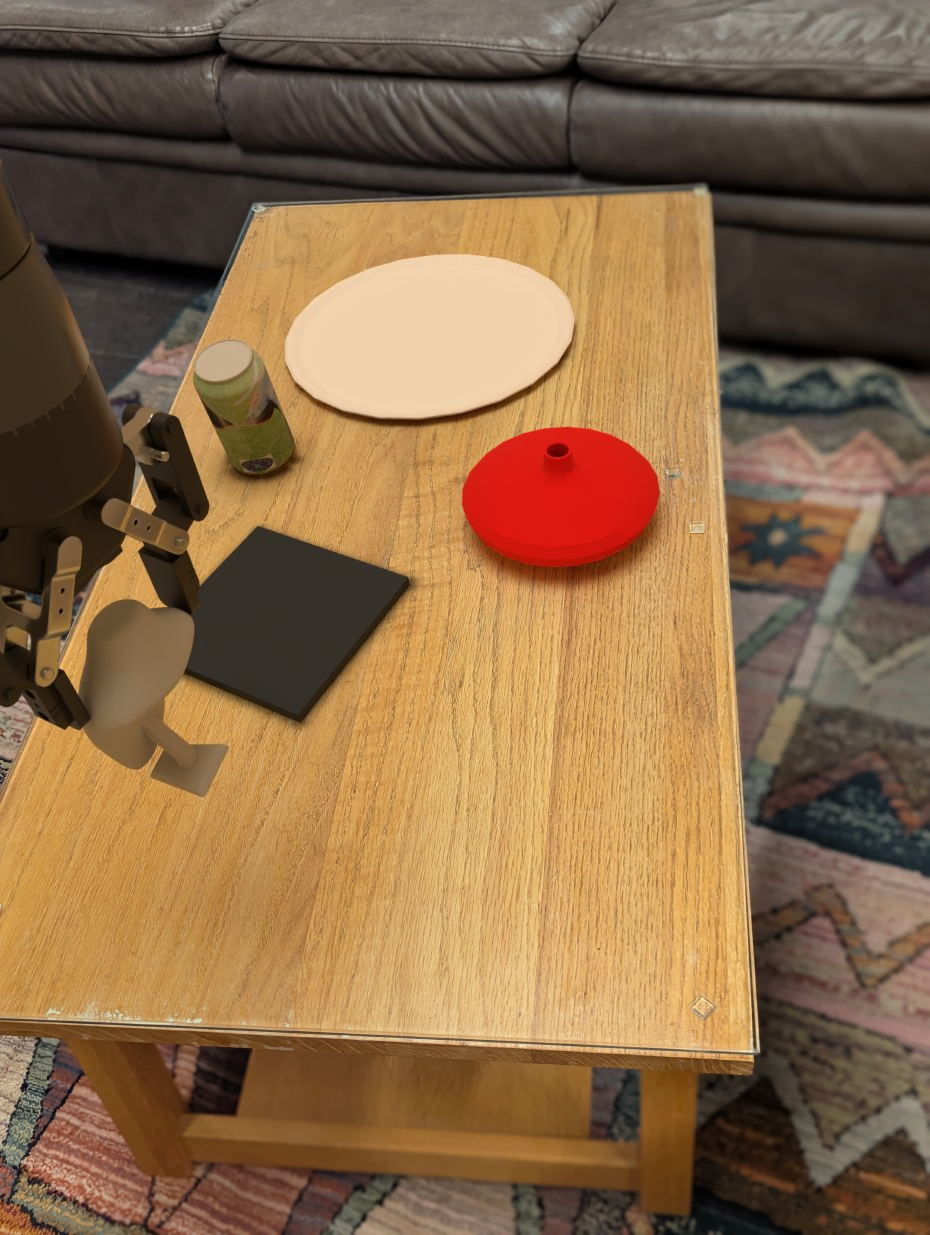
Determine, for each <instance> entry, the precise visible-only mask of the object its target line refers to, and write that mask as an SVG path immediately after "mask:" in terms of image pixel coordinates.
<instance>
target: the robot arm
mask: <svg viewBox="0 0 930 1235" xmlns="http://www.w3.org/2000/svg"><path fill="white" fill-rule="evenodd" d="M85 342H86V341H85V339H84V337H83V335H82V332H81V329H80V327H79V325H78V323H77V319H76V317H75V315H74V312H73V310H72V308H71V305H70V302H69V300H68V297H67V295H66V293H65V291H64V289H63V287H62V285H61V283H60V281H59V280H58V278H57V276H56V274H55V272H54V271H53V269H52V267H51V265H50V263H48V260H47V258H46V257H45V255H44V254H43V252H42V251H41V249H40V247H39V245H38V242H37V240H36V238H35V236H34V234H33V232H32V230H31V228H30V225H29V222H28V220H27V218H26V215H25V213H24V211H23V208H22V206H21V203H20V201H19V199H18V196H17V194H16V191H15V189H14V187H13V184H12V182H11V180H10V177H9V175H8V172H7V170H6V168H5V165H4V163H3V160H2V158H0V707H2V708H10V707H13V706H15V705H16V703H17V702H19V700H20V698H21V697H23V698H24V700H25V702H26V703H27V704H28V706H29V708H30V709H31V711H32V712H33V714H34V716H35V717H37V718H38V719H41V720H42V721H45V722H48V723H49V724H52V725H53V726H55V727H57V728H59V729H61V730H63V731H66V730H67V729H68V728H69V727H70V728H72V729H74V730H77V731H81V730H83V727H84V726H85V725H86V724H87V723H88V722H89V721H90V720H91V716H90V715H89V713H88V711H87V709H86V708H85V706H84V704H83V702H82V701H81V699H80V697H79V695H78V692H77V690H76V689H75V687H74V685H73V683H72V681H71V680H70V678H69V676H68V675H67V672H66V671H65V670H64V669H62V668H60V667H59V666H60V657H61V656H60V655H61V644H62V636H63V635H65V634H68V633H69V632H70V630H71V628H72V620H73V619H72V617H73V605H74V597H76V596H77V595H78V594H79V593H81V591H83V590H84V589H85V588H86V587H87V586H88V584H89V583H90V582H91V580H92V579H93V578H94V576H95V575H96V573H97V572H98V571H99V570H100V569H102V568H104V567H105V566H107V565H109V564H110V563H113V561H115V559H117V558H118V557H119V556H120V555H121V554H122V553H123V552H124V549H123V547H122V545H123V543H124V542H125V539H126V537H129V538H130V539H131V538H132V539H133V540H136V541H139V542H141V543H142V544H143V546H142V547H140V548H139V549H138V550H137V553H138V555H139V557H140V560H141V562H142V564H143V567H144V568H145V572H146V573H147V575H148V578H149V580H150V582H151V584H152V587H153V589H154V591H155V593H156V596H157V598H158V600H159V601H160V602H161V603H162V604H163V605H164V606H165V607H173V608H178V609H181V610H183V611H185V612H187V613H188V614H189V615H191V614H192V613H193V612H194V611H195V610H196V609H197V608H198V607H199V606H200V605H201V602H200V600H199V597H198V595H197V594H198V592H199V591H200V585H201V584H200V583H201V582H200V578H199V576H198V574H197V571H196V569H195V566H194V564H193V561H192V559H191V556H190V553H189V551H188V547H189V544H190V535H189V531H190V528H191V526H192V525H193V524H194V521H195V522H197V523H198V522H199V523H200V522H202V521H204V520H205V519H206V518H207V517H208V514H209V512H210V501H209V499H208V496H207V493H206V489H205V487H204V485H203V482H202V479H201V476H200V473H199V471H198V466H197V465H196V462H195V459H194V455H193V454H192V451H191V448H190V445H189V442H188V439H187V437H186V434H185V430H184V428H183V425H182V423H181V420H180V418H179V417H178V416H176V415H173V414H170V413H166V412H164V411H162V410H158V409H155V408H152V407H149V406H144V405H140V404H137V403H129V404H127V405H126V406H125V408H124V409H123V411H122V414H121V423H122V427H120V424H119V422H118V420H117V417H116V414H115V411H114V410H113V407H112V405H111V402H110V400H109V397H108V395H107V392H106V390H105V388H104V385H103V383H102V380H101V378H100V376H99V373H98V370H97V369H96V368H97V367H96V366H95V363H94V361H93V358H92V356H91V354H90V351H89V349H88V347H87V344H86V343H85ZM137 463H138V465H139V468H140V471H141V473H142V475H143V478H144V480H145V483H146V485H147V487H148V490H149V493H150V495H151V497H152V501H153V502H154V505H155V507H154V508H153V510H152V512H151V513H149V512H147V511H145V510H142V509H140V508H138V507H136V506H134V505H132V497H133V490H134V484H135V476H136V468H137V465H136V464H137ZM26 593H28V594H31V595H36V596H40V597H41V604H40V605H39V604H36V603H34V602H32V601H30V600H29V599H28V597H27V596H26ZM29 638H30V644H29V645H30V646H29V649H28V643H29Z"/></svg>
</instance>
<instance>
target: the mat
mask: <svg viewBox="0 0 930 1235" xmlns="http://www.w3.org/2000/svg"><path fill="white" fill-rule="evenodd" d="M410 584H411V582H410V578H409V576H406V575H404V574H401V573H399V572H395V571H393V570H389V569H387V568H383V567H380V566H377V565H375V564H371V563H369V562H366V561H363V560H359V559H357V558H354V557H351V556H348V555H345V554H342V553H340V552H336V551H333V550H331V549H328V548H325V547H322V546H318V545H316V544H312V543H310V542H307V541H305V540H304V541H303V540H301V539H298V538H295V537H292V536H290V535H287V534H283V533H280V532H277V531H274V530H272V529H269V528H265V527H263V526H260V525H257V526H256V527H255V528H254V529H253V530H252V531H251V532H250V533H249V534H248V535H247V537H245V538H244V539H243V540H242V541H241V542H240V543H239V545H238V546H237V547H236V548H235V549H234V550H232V552H231V553H230V554H229V555H228V556H227V557H226V558H224V560H223V561H222V562H221V563H220V564H219V565H218V566H217V567H216V568H215V569H214V570H213V571H212V572H211V574H210V575H209V576H207V578H206V579H205V580H204V581H203V582H202V583H201V584H200V591H199V592H198V594H197V595H198V597H199V600H200V602H201V605H200V606H199V607H198V608H197V609H196V610H195V611H194V612H193V613H192V614H191V615H190V616H191V618H192V619H193V622H194V639H193V645H192V649H191V653H190V657H189V660H188V663H187V666H186V669H185V671H184V674H187V675H190V676H192V677H195V678H197V679H199V680H200V681H204V682H206V683H209V684H211V685H213V686H215V687H218V688H220V689H222V690H225V691H227V692H230V693H232V694H235V695H236V696H239V697H242V698H243V699H246V700H249V701H251V702H252V703H256V704H258V705H260V706H262V707H264V708H268V709H269V710H272V711H275V712H277V713H279V714H281V715H284V716H286V717H288V718H291V719H293V720H296V721H297V722H301V721H302V720H303V718H304V717H305V716H306V715H307V714H308V713H309V711H310V710H311V708H312V707H313V706H314V705H315V703H316V702H317V701H318V700H319V699H320V697H321V696H322V695H323V694H324V692H325V691H326V690H327V689H328V687H329V686H330V685H331V683H332V682H333V681H334V680H335V678H336V677H337V676H338V675H339V674H340V672H341V671H342V670H343V668H344V667H345V666H346V664H347V663H348V662H349V661H350V660H351V658H353V656H354V655H355V653H356V652H357V651H358V650H359V648H360V647H361V646H362V644H364V643H365V641H366V640H367V638H368V637H369V636H370V635H371V634H372V633H373V630H375V629H376V627H377V626H378V625H379V624H380V622H381V621H382V619H383V618H384V617H385V616H386V615H387V613H388V612H389V611H390V609H391V608H392V607H393V605H395V603H397V601H398V600H399V598H400V597H401V596H402V595H403V593H404V592H405V591H406V589H407V588H408V587H409V585H410Z"/></svg>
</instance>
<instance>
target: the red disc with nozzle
mask: <svg viewBox="0 0 930 1235" xmlns="http://www.w3.org/2000/svg"><path fill="white" fill-rule="evenodd" d="M461 489H462V490H461V491H462V492H461V507H462V510H463V513H464V515H465V517H466V521H467V523H468V525H469V526H470V527H471V529H472V530H473V532H474V533H475V534H476V536H477V537H478V538H479V539H480V540H481V542H482V543H483V544H484V545H485V546H487V547H488V548H489V549H492V550H493V551H495V552H496V553H498V554H499V555H501V556H503V557H505V558H508V559H510V560H513V561H516V562H520V563H522V564H525V565H530V566H531V565H532V566H540V567H548V568H558V567H559V568H560V567H578V566H581V565H585V564H588V563H595V562H597V561H602V560H604V559H606V558H608V557H610V556H612V555H614V554H616V553H619V552H621V551H622V550H624V549H626V548H627V547H628V546H630V545H631V544H632V543H633V542H634V541H636V540H637V539H638V538H640V536H641V535H642V534H643V532H644V531H645V529H646V528H647V527H648V525H649V524H650V523H651V521H652V519H653V517H654V516H655V512H656V511H657V507H658V503H659V500H660V495H661V490H660V483H659V477H658V474H657V473H656V471H655V469H654V468H653V466H652V465H651V463H650V461H649V459H647V458H646V457H645V456H643V454H642V453H640V452H639V451H638V450H637V449H636V448H634V447H633V446H632V445H631V444H629V443H628V442H626V441H625V440H623V439H620V438H618V437H617V436H615V435H613V434H610V433H607V432H603V431H600V430H596V429H592V428H586V427H576V426H575V427H574V426H555V427H543V428H540V429H535V430H531V431H527V432H522V433H520V434H518V435H516V436H513V437H511V438H508V439H506V440H503V441H502V442H500V443H499V444H497V445H496V446H495V447H493V448H492V449H490V450H489V451H487V452H486V453H485V454H484V455H483V457H481V458H480V460H478V462H477V463H475V465H474V467H472V469H471V470H470V471H469V472H468V475H467V477H466V479H465V481H464V484H463V486H462V488H461Z"/></svg>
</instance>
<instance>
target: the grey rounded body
mask: <svg viewBox="0 0 930 1235" xmlns="http://www.w3.org/2000/svg"><path fill="white" fill-rule="evenodd" d="M87 629H88V630H87V634H86V651H85V652H86V653H85V660H84V664H83V668H82V672H81V675H80V679H79V685H78V692H77V694H78V695H79V697H80V699H81V701H82V702H83V704H84V706H85V708H86V709H87V711H88V713H89V715H90V716H91V720H90V721H89V722H88V723H87V724H86V725H85V726H84V727H83V728H82V730H83V731H84V733H85V734H86V737H87V738H88V739H89V740H90V742H91V743H92V744H93V745H94V746H95V747H96V748H97V749H98V750H99V751H101V752H102V753H103V754H105V755H107V757H108V758H111V759H112V760H114V761H115V762H116V763H118V764H120V765H121V766H123V767H125V768H127V769H130V770H134V771H137V770H140V769H142V768H144V767H145V766H146V765H147V764H149V762H150V761H151V759H152V757H153V756H154V754H155V752H156V749H157V747H158V746H159V747H160V748H161V749H162V751H161V753H160V755H159V757H158V759H157V761H156V763H155V765H154V767H153V769H152V770H151V772H150V778H151V779H153V780H154V781H155V780H156V781H158V782H160V783H164V784H166V785H167V786H171V787H173V788H176V789H179V790H182V791H184V792H187V793H189V794H192V795H194V796H197V797H200V798H205V797H206V796H207V794H208V792H209V791H210V788H211V786H212V784H213V782H214V780H215V778H216V776H217V774H218V772H219V770H220V768H221V766H222V764H223V761H225V757H226V756H227V753H228V752H229V749H230V746H229V745H226V744H223V743H198V744H197V743H189V742H188V741H187V740H185V739H184V738H183V737H182V736H180V735H179V734H178V733H177V732H175V731H174V730H173V729H172V728H171V727H169V726H168V725H167V724H166V723H165V722H164V719H165V710H166V698H167V697H168V696H169V695H170V694H171V692H172V691H173V690H174V689H175V688H176V687H177V685H179V683H180V681H181V680H182V678H183V675H184V674H185V672H184V671H185V669H186V666H187V663H188V660H189V657H190V653H191V649H192V645H193V639H194V622H193V619H192V618H191V616H190V615H189V614H188V613H187V612H185V611H183V610H181V609H178V608H173V607H167V606H161V607H160V606H159V607H152V608H149V607H148V606H147V605H146V604H144V603H143V602H141V601H139V600H136V599H133V598H132V599H131V598H125V599H118V600H115V601H113V602H110V603H108V604H107V605H106V606H104V607H103V608H102V609H100V611H99V612H98V613H97V614H96V615H95V616H94V617H93V619H92V621H91V622H90V625H89V627H88V628H87Z"/></svg>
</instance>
